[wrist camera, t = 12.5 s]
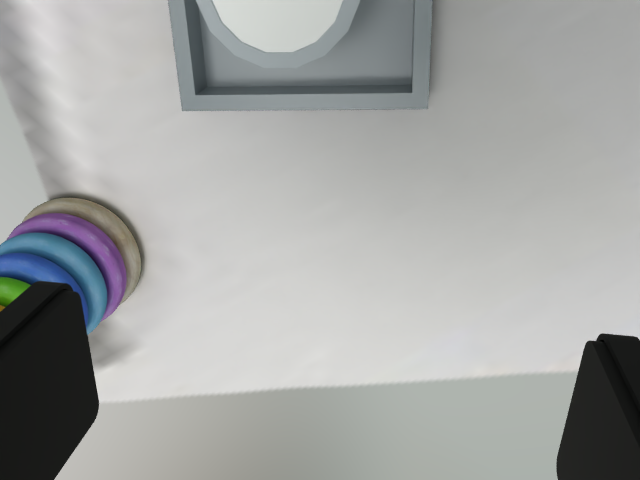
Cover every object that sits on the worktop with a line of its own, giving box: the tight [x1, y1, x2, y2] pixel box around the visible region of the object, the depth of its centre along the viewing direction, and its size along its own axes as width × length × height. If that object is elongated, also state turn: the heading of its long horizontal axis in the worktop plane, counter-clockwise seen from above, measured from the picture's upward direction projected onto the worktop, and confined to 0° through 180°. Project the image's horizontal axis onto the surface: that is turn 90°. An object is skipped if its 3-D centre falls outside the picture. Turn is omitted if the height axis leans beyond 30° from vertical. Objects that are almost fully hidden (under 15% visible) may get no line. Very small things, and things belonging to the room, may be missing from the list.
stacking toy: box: [0, 198, 141, 335], centre depth 31 cm, size 8×8×19 cm
